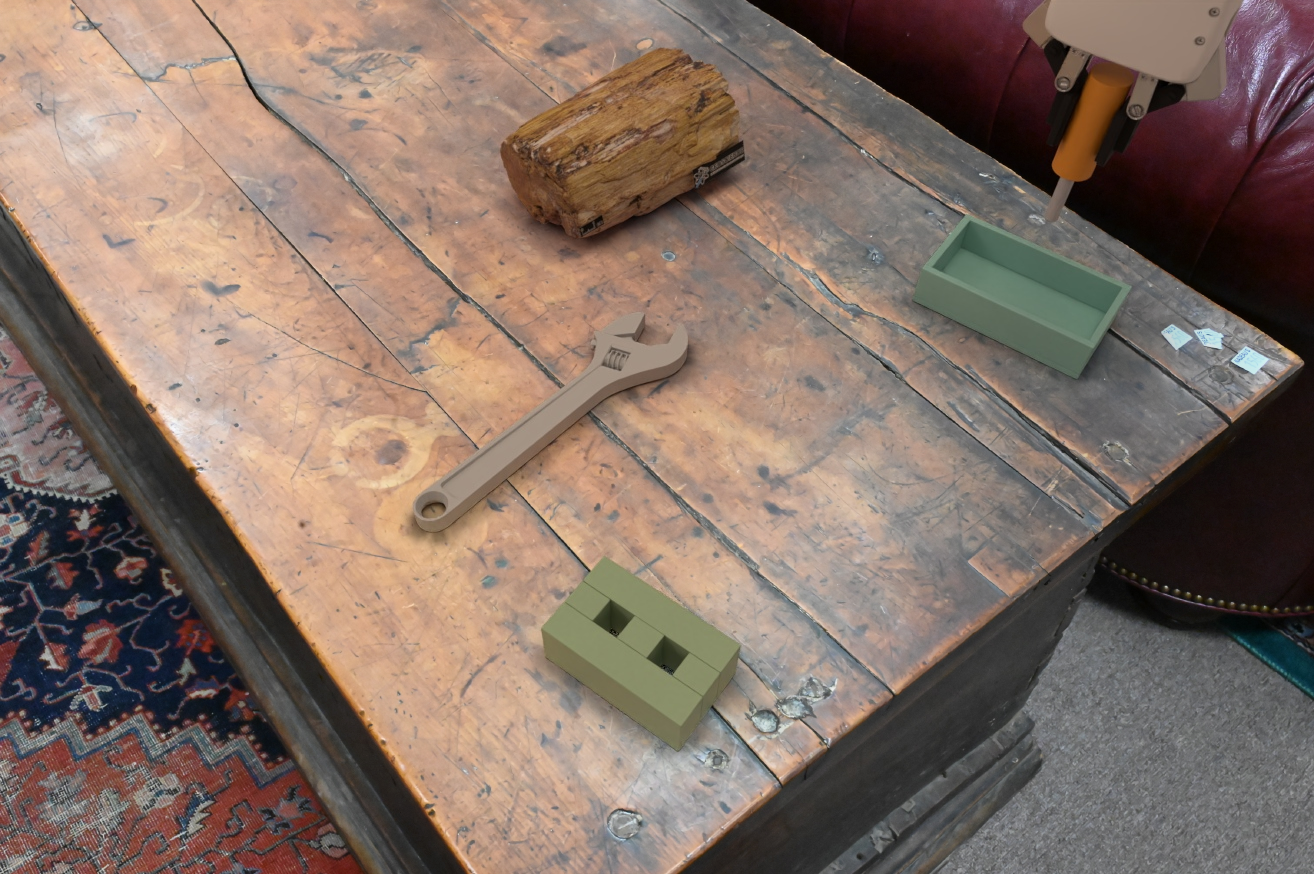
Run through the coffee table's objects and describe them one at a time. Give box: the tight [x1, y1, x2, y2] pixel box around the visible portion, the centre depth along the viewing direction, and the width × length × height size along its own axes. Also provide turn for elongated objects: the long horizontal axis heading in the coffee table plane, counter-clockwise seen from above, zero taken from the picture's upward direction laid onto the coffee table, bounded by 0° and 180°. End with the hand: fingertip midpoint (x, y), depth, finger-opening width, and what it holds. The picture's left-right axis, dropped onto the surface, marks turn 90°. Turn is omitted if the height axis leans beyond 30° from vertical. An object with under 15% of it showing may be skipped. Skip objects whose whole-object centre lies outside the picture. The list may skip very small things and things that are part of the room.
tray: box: [912, 213, 1133, 380], centre depth 81 cm, size 8×14×4 cm, turn 54°
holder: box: [540, 555, 742, 752], centre depth 61 cm, size 6×10×4 cm, turn 54°
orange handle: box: [1043, 61, 1135, 223], centre depth 70 cm, size 3×3×12 cm
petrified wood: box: [499, 47, 746, 240], centre depth 87 cm, size 19×13×10 cm
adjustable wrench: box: [412, 311, 689, 533], centre depth 74 cm, size 25×6×2 cm, turn 132°
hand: (1082, 143), depth 70 cm, fingers closed on orange handle, 2 cm apart
